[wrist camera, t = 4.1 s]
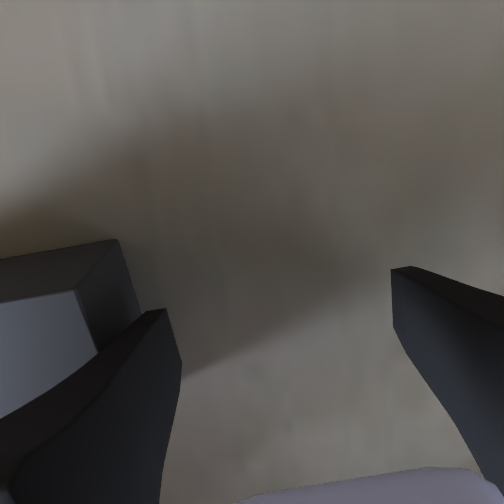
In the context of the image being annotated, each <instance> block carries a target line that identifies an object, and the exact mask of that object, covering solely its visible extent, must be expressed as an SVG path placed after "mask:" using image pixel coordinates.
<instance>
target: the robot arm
mask: <svg viewBox="0 0 504 504" xmlns="http://www.w3.org/2000/svg"><path fill="white" fill-rule="evenodd" d="M391 288H392V311H393V328H394V330H395V332H396V334H397V336H398V338H399V340H400V342H401V344H402V346H403V348H404V350H405V352H406V354H407V355H408V357H409V358H410V360H411V361H412V362H413V364H414V365H415V367H416V368H417V370H418V371H419V373H420V374H421V376H422V377H423V378H424V380H425V381H426V383H427V384H428V385H429V387H430V388H431V390H432V391H433V393H434V394H435V395H436V397H437V398H438V400H439V401H440V402H441V404H442V405H443V407H444V408H445V410H446V411H447V412H448V414H449V416H450V417H451V419H452V420H453V422H454V423H455V425H456V426H457V428H458V430H459V432H460V433H461V435H462V437H463V439H464V441H465V442H466V444H467V446H468V448H469V450H470V451H471V453H472V455H473V457H474V459H475V460H476V462H477V464H478V466H479V468H480V470H481V472H482V474H483V476H484V478H485V479H484V478H482V477H481V476H479V475H477V474H475V473H474V472H472V471H470V470H467V469H461V468H434V467H425V468H418V469H412V470H406V471H400V472H393V473H387V474H381V475H374V476H368V477H362V478H356V479H349V480H343V481H337V482H330V483H324V484H318V485H312V486H305V487H299V488H293V489H286V490H280V491H274V492H268V493H261V494H258V495H256V496H253V497H250V498H247V499H245V500H242V501H239V502H236V503H234V504H504V296H501V295H498V294H494V293H491V292H488V291H484V290H481V289H478V288H475V287H472V286H469V285H466V284H463V283H461V282H458V281H455V280H452V279H449V278H447V277H444V276H441V275H438V274H436V273H433V272H430V271H427V270H424V269H421V268H417V267H413V266H408V267H402V268H396V269H391ZM181 368H182V361H181V358H180V355H179V351H178V348H177V344H176V341H175V337H174V334H173V330H172V327H171V323H170V320H169V316H168V313H167V309H166V308H163V309H157V310H151V311H146V312H145V313H144V314H142V315H141V316H140V317H139V318H137V319H136V320H135V321H134V322H133V323H132V324H131V325H130V326H128V327H127V328H126V329H125V330H124V331H123V332H122V333H121V334H120V335H118V336H117V337H116V338H115V339H114V340H113V341H112V342H111V343H110V344H108V345H107V346H106V347H105V348H104V349H103V350H101V351H100V352H99V353H98V354H97V355H95V356H94V357H93V358H92V359H90V360H89V361H88V362H87V363H86V364H84V365H83V366H82V367H81V368H79V369H78V370H77V371H75V372H74V373H73V374H71V375H70V376H69V377H67V378H66V379H64V380H63V381H61V382H60V383H58V384H57V385H56V386H54V387H53V388H51V389H50V390H48V391H47V392H45V393H43V394H42V395H40V396H38V397H37V398H35V399H33V400H32V401H30V402H28V403H27V404H25V405H23V406H22V407H20V408H18V409H17V410H15V411H13V412H11V413H10V414H8V415H6V416H4V417H2V418H0V504H159V497H160V488H161V480H162V472H163V467H164V461H165V456H166V452H167V447H168V443H169V438H170V434H171V429H172V425H173V420H174V416H175V411H176V407H177V402H178V397H179V392H180V382H181Z"/></svg>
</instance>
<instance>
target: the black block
mask: <svg viewBox="0 0 504 504" xmlns="http://www.w3.org/2000/svg"><path fill="white" fill-rule="evenodd" d="M140 316H141V312H140V309H139V305H138V302H137V299H136V296H135V293H134V290H133V287H132V283H131V280H130V277H129V274H128V271H127V268H126V265H125V261H124V258H123V255H122V252H121V249H120V246H119V243H118V240H117V239H113V240H107V241H101V242H96V243H90V244H84V245H79V246H73V247H67V248H62V249H56V250H51V251H45V252H39V253H34V254H28V255H22V256H17V257H11V258H5V259H0V418H2V417H4V416H6V415H8V414H10V413H11V412H13V411H15V410H17V409H18V408H20V407H22V406H23V405H25V404H27V403H28V402H30V401H32V400H33V399H35V398H37V397H38V396H40V395H42V394H43V393H45V392H47V391H48V390H50V389H51V388H53V387H54V386H56V385H57V384H58V383H60V382H61V381H63V380H64V379H66V378H67V377H69V376H70V375H71V374H73V373H74V372H75V371H77V370H78V369H79V368H81V367H82V366H83V365H84V364H86V363H87V362H88V361H89V360H90V359H92V358H93V357H94V356H95V355H97V354H98V353H99V352H100V351H101V350H103V349H104V348H105V347H106V346H107V345H108V344H110V343H111V342H112V341H113V340H114V339H115V338H116V337H117V336H118V335H120V334H121V333H122V332H123V331H124V330H125V329H126V328H127V327H128V326H130V325H131V324H132V323H133V322H134V321H135V320H136V319H137V318H139V317H140Z"/></svg>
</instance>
